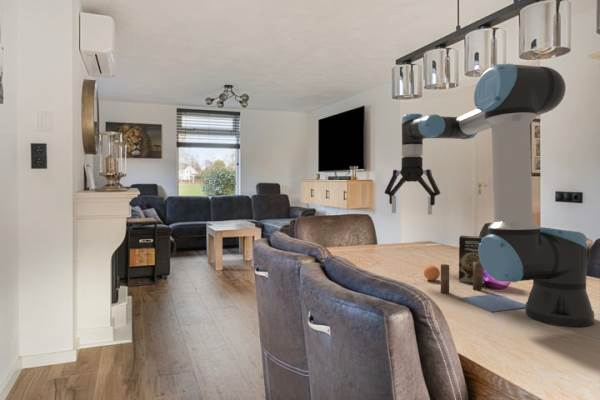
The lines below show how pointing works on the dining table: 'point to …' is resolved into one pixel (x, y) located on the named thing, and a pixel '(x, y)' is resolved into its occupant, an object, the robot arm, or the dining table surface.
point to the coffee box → (468, 257)
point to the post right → (477, 276)
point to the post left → (444, 278)
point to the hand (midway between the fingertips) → (411, 213)
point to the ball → (431, 272)
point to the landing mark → (493, 302)
